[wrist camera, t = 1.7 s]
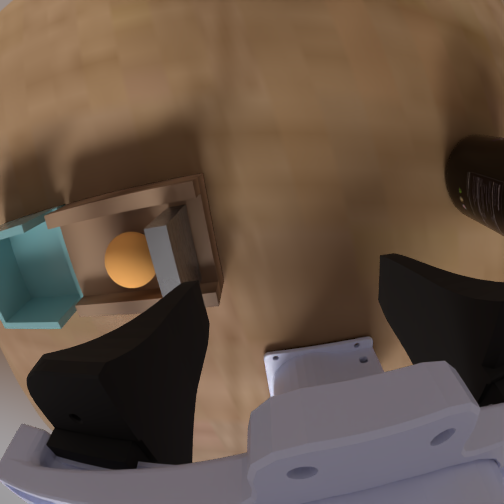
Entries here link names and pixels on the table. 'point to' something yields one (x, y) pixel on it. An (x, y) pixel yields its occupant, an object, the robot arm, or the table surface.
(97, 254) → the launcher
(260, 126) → the table surface
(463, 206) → the supplement bottle
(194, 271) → the plunger
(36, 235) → the teal open box
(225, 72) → the table surface
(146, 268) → the ball
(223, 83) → the table surface
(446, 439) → the robot arm
